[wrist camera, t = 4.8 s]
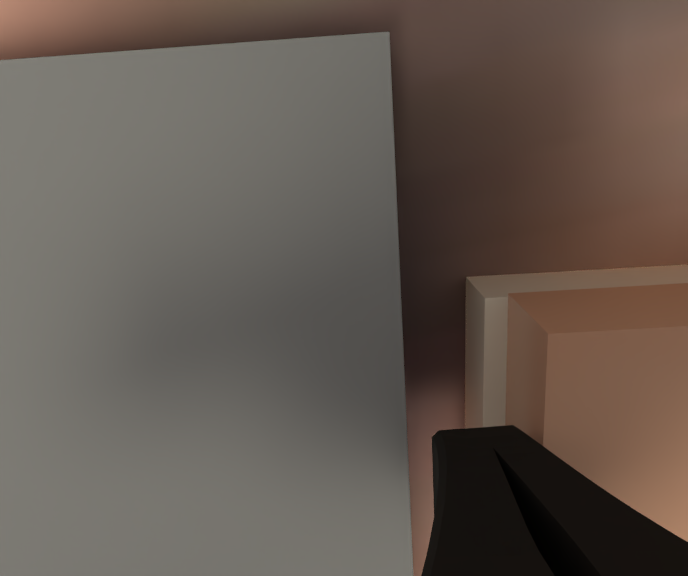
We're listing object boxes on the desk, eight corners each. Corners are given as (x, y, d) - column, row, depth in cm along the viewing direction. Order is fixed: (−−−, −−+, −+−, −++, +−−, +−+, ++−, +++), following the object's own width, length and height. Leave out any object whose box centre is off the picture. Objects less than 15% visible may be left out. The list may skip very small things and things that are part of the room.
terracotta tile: (753, 518, 11) (836, 598, 9) (502, 531, 11) (535, 614, 10) (793, 277, 10) (902, 314, 8) (508, 293, 10) (547, 333, 8)
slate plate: (408, 655, 14) (420, 740, 12) (-115, 694, 14) (-185, 784, 12) (378, 48, 10) (389, 31, 8) (-350, 101, 10) (-508, 97, 8)
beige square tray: (672, 465, 13) (729, 521, 11) (459, 477, 13) (480, 536, 11) (697, 257, 12) (767, 282, 10) (459, 269, 12) (485, 298, 10)
